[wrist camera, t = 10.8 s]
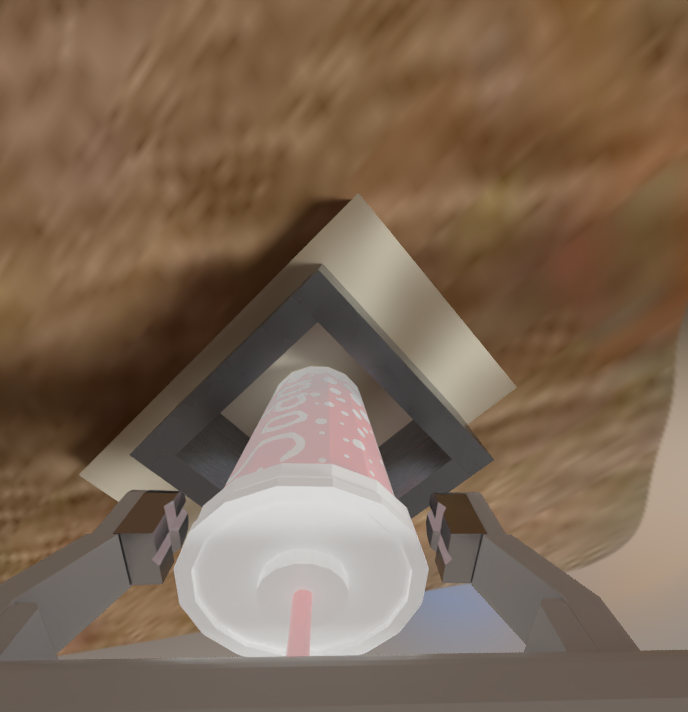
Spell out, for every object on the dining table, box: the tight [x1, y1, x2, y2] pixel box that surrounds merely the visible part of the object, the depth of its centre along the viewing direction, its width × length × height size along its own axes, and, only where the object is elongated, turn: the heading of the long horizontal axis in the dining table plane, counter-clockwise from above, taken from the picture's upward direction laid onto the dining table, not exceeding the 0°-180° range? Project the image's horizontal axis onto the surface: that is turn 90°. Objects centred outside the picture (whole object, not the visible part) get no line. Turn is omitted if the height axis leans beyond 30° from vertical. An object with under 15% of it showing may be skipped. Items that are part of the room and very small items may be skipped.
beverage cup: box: [174, 366, 429, 657], centre depth 10 cm, size 6×6×14 cm
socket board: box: [79, 193, 517, 545], centre depth 18 cm, size 12×20×2 cm, turn 133°
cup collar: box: [129, 263, 494, 519], centre depth 14 cm, size 10×10×4 cm
